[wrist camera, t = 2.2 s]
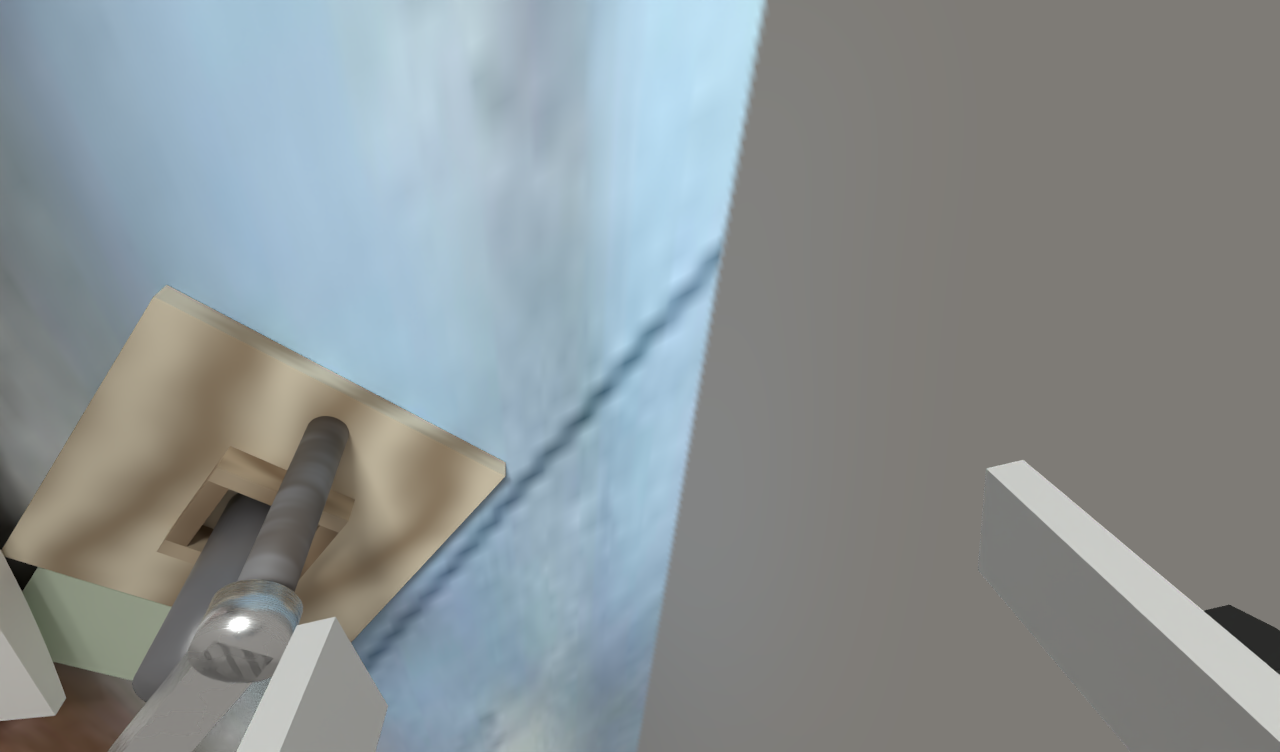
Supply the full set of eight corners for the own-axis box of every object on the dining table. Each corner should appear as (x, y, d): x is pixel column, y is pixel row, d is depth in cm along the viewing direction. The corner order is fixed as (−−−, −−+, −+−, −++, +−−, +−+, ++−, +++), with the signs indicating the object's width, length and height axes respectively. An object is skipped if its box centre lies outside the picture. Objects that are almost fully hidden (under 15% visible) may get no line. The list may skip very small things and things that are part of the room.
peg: (213, 521, 40) (116, 698, 30) (246, 477, 39) (156, 647, 29) (281, 546, 42) (212, 720, 32) (314, 505, 41) (253, 673, 31)
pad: (-5, 635, 43) (-13, 645, 43) (45, 557, 41) (37, 567, 40) (206, 688, 50) (202, 697, 49) (260, 624, 47) (257, 632, 47)
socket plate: (14, 537, 40) (-196, 772, 28) (166, 284, 33) (-22, 449, 21) (341, 640, 50) (290, 843, 38) (505, 462, 44) (505, 639, 32)
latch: (95, 746, 30) (65, 800, 28) (235, 568, 26) (212, 617, 24) (175, 761, 32) (153, 813, 30) (318, 596, 28) (303, 644, 26)
